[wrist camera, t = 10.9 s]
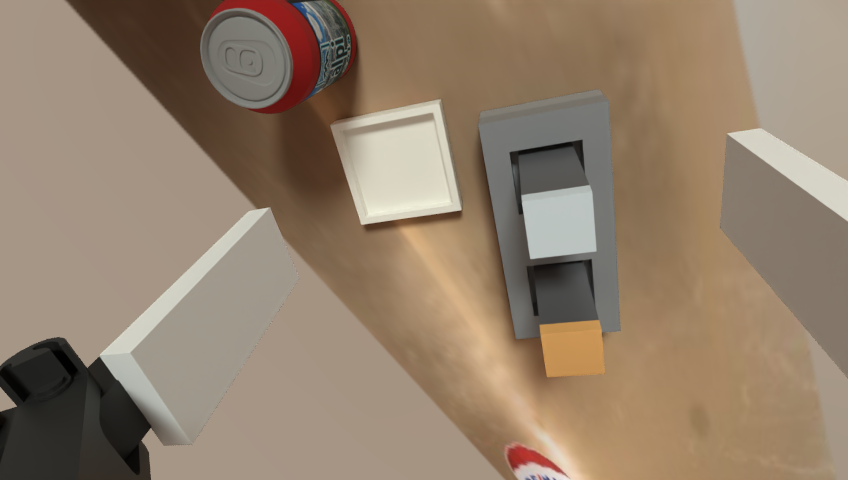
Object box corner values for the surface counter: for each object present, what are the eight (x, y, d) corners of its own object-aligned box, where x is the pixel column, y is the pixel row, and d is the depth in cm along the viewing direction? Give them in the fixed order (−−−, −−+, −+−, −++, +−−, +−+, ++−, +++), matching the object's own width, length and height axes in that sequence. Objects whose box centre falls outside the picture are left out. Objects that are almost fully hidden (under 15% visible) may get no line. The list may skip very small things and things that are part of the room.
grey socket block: (480, 111, 38) (478, 125, 34) (598, 89, 36) (608, 100, 32) (515, 312, 47) (516, 339, 43) (611, 303, 44) (620, 331, 41)
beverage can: (355, 91, 38) (300, 131, 28) (276, 74, 39) (192, 108, 28) (364, -1, 35) (304, 6, 25) (277, -18, 35) (182, -18, 25)
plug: (532, 259, 41) (540, 334, 32) (580, 254, 40) (601, 329, 32) (538, 297, 43) (546, 377, 34) (584, 292, 42) (604, 373, 33)
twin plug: (517, 149, 37) (521, 201, 28) (571, 140, 36) (592, 191, 27) (524, 196, 39) (530, 259, 30) (575, 189, 38) (596, 251, 29)
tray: (335, 120, 40) (330, 125, 39) (441, 99, 38) (439, 103, 36) (365, 217, 44) (361, 224, 43) (462, 203, 42) (461, 210, 40)
